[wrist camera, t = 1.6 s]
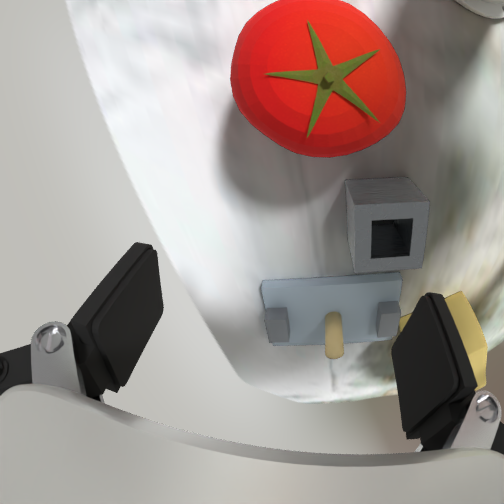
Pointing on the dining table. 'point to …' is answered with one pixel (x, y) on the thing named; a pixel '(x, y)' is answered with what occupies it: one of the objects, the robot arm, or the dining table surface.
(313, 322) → the stand
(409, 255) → the brushed steel block
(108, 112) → the dining table surface
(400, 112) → the tomato
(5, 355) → the robot arm
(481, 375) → the cheese
